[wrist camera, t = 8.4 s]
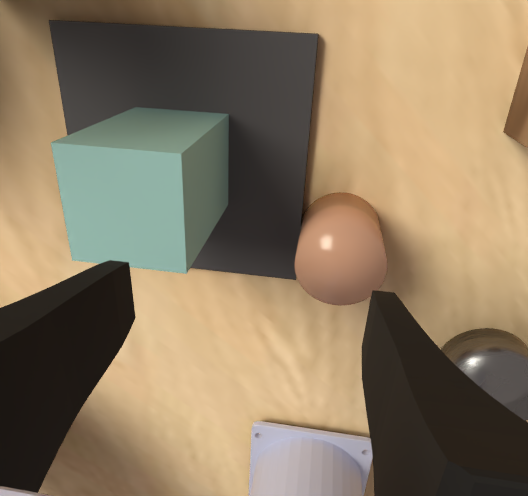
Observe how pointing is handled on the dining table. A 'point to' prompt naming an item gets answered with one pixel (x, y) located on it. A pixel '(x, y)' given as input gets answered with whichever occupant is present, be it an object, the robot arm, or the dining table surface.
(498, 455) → the robot arm
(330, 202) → the peach domed capsule
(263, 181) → the black mat
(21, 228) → the dining table surface
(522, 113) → the walnut block
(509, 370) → the metal puck
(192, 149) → the teal block
